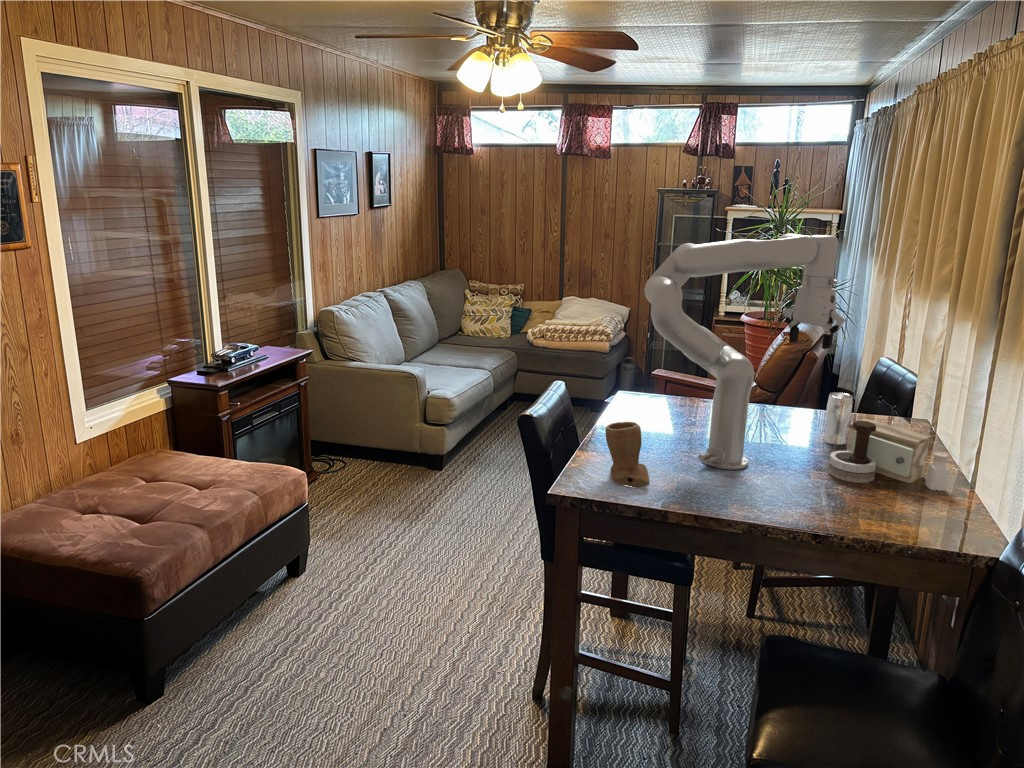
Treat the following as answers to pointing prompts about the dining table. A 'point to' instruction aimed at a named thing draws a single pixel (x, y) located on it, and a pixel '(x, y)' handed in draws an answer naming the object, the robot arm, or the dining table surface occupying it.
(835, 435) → the silver tall cylinder
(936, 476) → the pepper shaker
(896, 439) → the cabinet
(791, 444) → the dining table surface
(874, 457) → the grey piece
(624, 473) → the tan hollow piece
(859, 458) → the bolt
